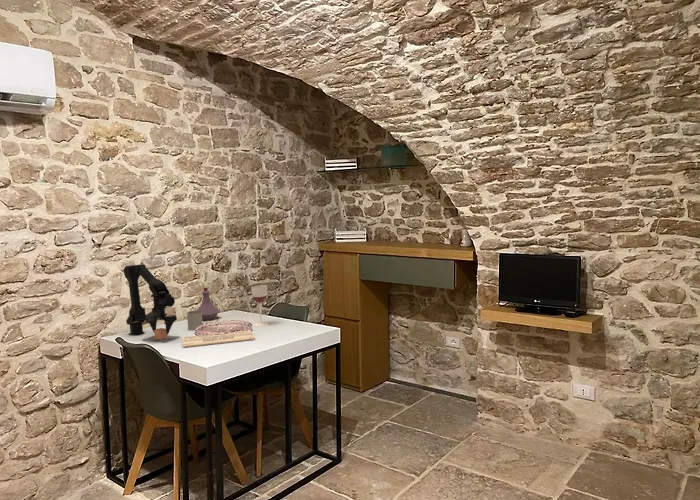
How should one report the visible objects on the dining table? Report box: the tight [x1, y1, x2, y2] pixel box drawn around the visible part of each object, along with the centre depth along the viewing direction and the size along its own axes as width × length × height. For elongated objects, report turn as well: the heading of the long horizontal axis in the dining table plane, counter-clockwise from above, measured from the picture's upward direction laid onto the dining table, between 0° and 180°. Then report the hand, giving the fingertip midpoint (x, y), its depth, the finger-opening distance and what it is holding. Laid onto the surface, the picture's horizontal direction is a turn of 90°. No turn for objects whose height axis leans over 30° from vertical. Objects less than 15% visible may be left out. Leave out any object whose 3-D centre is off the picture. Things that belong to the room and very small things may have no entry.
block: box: [153, 327, 169, 340], centre depth 304 cm, size 5×5×5 cm
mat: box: [142, 335, 180, 343], centre depth 305 cm, size 16×12×1 cm
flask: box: [196, 287, 221, 322], centre depth 352 cm, size 16×16×20 cm
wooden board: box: [181, 329, 256, 349], centre depth 296 cm, size 37×19×3 cm, turn 108°
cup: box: [186, 310, 204, 331], centre depth 326 cm, size 8×8×10 cm
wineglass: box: [250, 284, 269, 327], centre depth 331 cm, size 9×10×23 cm
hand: (161, 333), depth 304 cm, fingers open, 9 cm apart
